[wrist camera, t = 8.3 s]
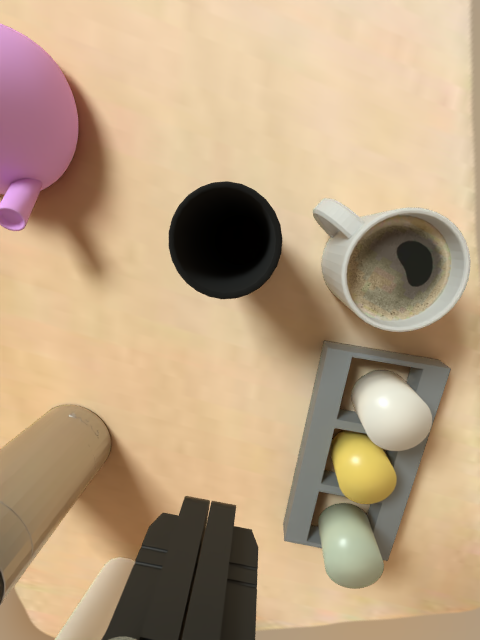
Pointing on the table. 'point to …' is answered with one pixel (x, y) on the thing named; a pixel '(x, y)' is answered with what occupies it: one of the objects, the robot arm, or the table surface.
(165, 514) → the robot arm
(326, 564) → the sage button
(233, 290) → the cup
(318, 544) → the grey compartment tray
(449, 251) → the mug
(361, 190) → the table surface
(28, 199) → the teapot
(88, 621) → the foam cup
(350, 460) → the mustard button
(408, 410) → the offwhite button
